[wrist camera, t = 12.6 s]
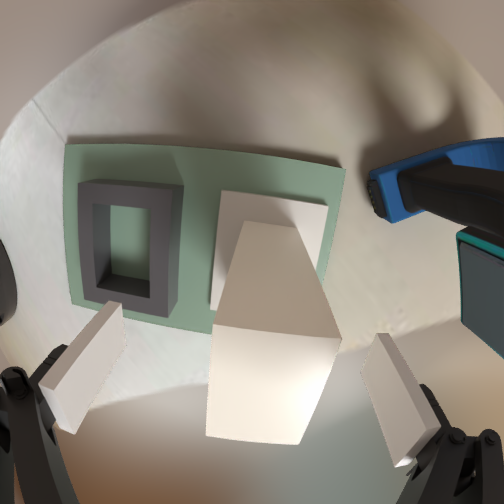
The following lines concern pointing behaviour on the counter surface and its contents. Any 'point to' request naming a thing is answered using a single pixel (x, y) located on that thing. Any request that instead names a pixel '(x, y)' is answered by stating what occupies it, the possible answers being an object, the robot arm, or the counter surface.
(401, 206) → the handheld scanner
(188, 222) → the green socket board
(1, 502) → the robot arm
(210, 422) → the plug
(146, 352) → the counter surface
